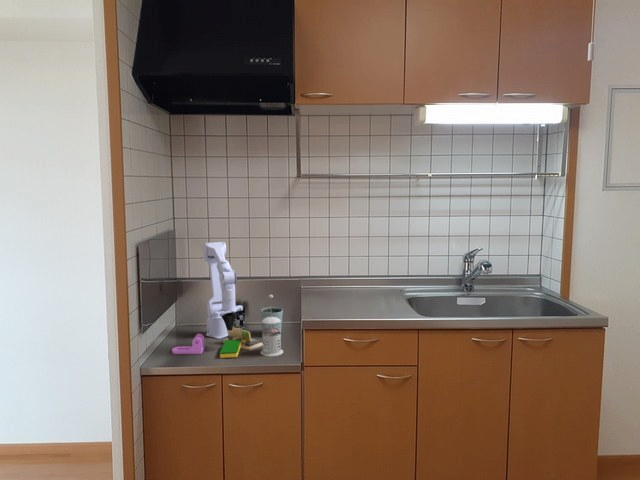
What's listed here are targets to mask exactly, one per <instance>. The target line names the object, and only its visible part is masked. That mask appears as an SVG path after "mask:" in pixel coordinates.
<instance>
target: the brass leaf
mask: <svg viewBox="0 0 640 480" xmlns="http://www.w3.org/2000/svg"><path fill="white" fill-rule="evenodd" d="M227 333H228V336H231V337H233V338H232V340H236V339H237V338H238V339H242V340H241V343H242V344H245V342H246V341H249V342H251V337H252V336H251V332H250V331H248V330H246V329H245V330H244V329H242V328H239V327H238V328H237V327H234V326H233V328H232V330H227ZM228 336H227V337H228Z"/></svg>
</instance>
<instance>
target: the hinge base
mask: <svg viewBox="0 0 640 480" xmlns="http://www.w3.org/2000/svg"><path fill="white" fill-rule="evenodd" d="M232 338H233V337H231V336H227V338H225V339H222V340H221V341H220V342H221V344H224V342H225V340H232ZM236 340H242V339H238V338H237V339H236ZM241 344H242V343H241ZM260 347H263V346H262V341H261V340H259V339H255V338H251V342H249V341H246V342H245V344H242V345H241V348H240V349H242V350H246V351H252V350H255V349H257V348H260Z"/></svg>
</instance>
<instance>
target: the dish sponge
mask: <svg viewBox="0 0 640 480" xmlns="http://www.w3.org/2000/svg"><path fill="white" fill-rule="evenodd" d="M224 340H225V339H224ZM222 344H223V345H222V347H221V349H220V352H219V358H220V359H226V358H228V359H229V358H238V356H239V353H240V350H241V349H242V348H241V345H242V344H241V340H225V342H224V343H222Z"/></svg>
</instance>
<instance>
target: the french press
mask: <svg viewBox="0 0 640 480" xmlns="http://www.w3.org/2000/svg"><path fill="white" fill-rule="evenodd" d="M268 298H269V299H272V298H274V295H273V294H269V295H268ZM280 322H281V320H280V319H279V318H276V317H267V318H264V319H263V320H262V319H261V324H262V323H264V324H268V325H270V328H265V329H264V330H263V329H262V333H261V335H262V337H261V339H262V341H261V343H262V346H261V347H262V350H260V353H259V354H261V356H265V357H275V356H276V357H277V356H279V355H280V356H281V355H282V354H283V353H284V350H283V349H282V339H281V338H282V335H281V334H282V332H281V333H280V332H279V331H280V329H279V328H272V325H273V324H278V323H280ZM269 333H270V334H271V336H269ZM277 334H280V335H277Z"/></svg>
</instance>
